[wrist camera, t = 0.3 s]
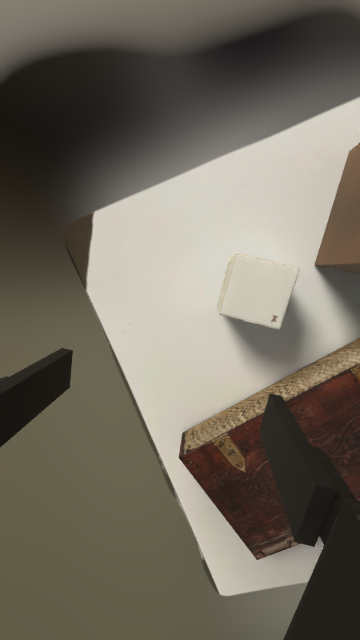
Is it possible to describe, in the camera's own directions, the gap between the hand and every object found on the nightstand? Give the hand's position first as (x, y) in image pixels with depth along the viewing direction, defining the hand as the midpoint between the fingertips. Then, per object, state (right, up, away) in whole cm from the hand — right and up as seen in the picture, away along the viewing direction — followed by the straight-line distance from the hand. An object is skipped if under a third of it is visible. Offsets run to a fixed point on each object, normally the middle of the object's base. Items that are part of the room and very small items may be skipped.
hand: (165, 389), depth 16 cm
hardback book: (+19, -11, +17) cm, 28 cm away
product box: (+9, +9, +14) cm, 19 cm away
